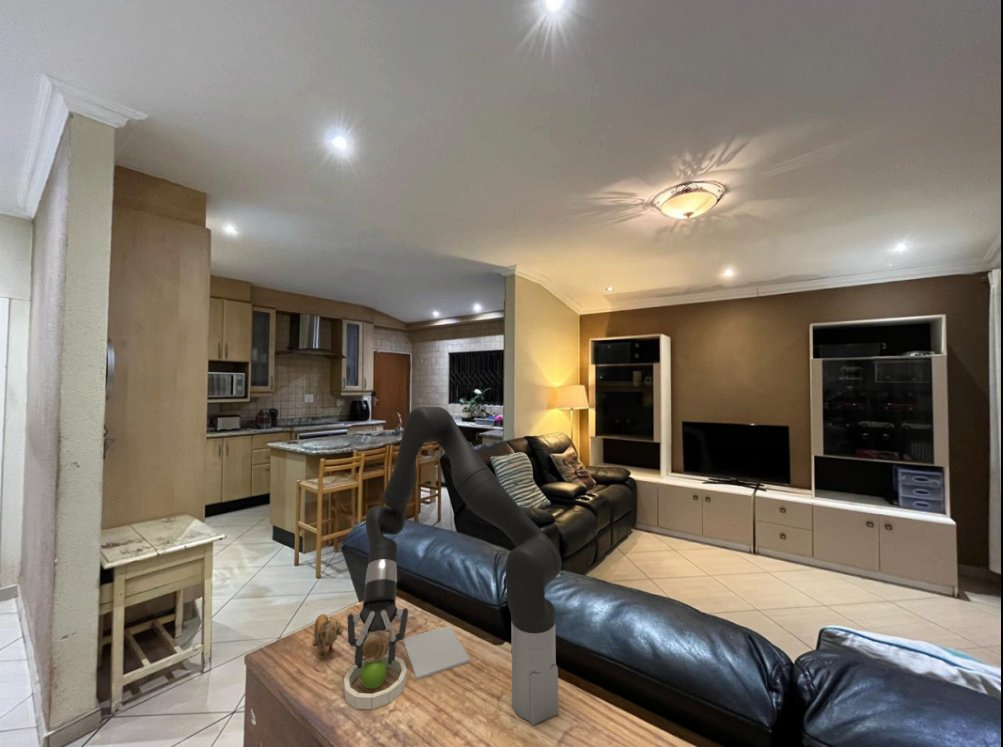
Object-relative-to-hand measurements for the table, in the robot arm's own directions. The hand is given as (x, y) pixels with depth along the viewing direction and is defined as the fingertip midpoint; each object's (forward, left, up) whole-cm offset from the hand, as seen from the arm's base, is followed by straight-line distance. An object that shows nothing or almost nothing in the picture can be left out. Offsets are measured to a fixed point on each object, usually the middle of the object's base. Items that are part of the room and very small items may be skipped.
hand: (374, 665), depth 87 cm
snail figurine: (+2, -1, -6) cm, 6 cm away
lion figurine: (+20, +9, -6) cm, 23 cm away
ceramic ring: (+2, 0, -6) cm, 6 cm away
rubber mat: (+7, -15, -6) cm, 18 cm away
